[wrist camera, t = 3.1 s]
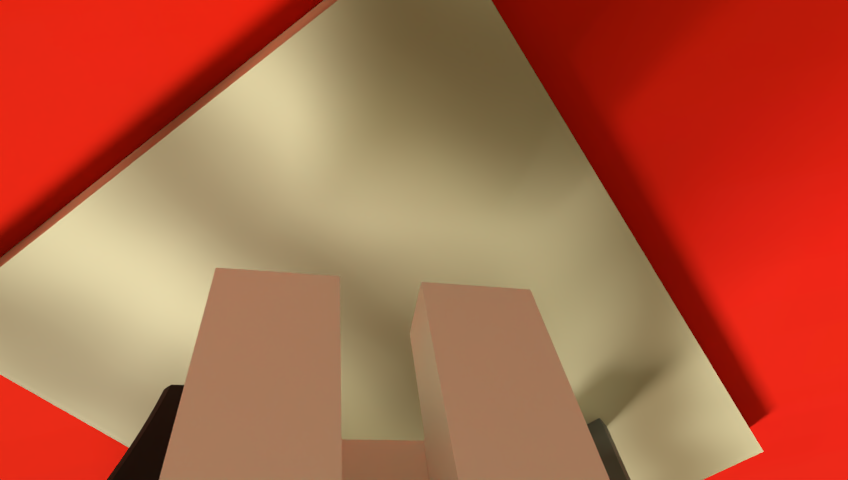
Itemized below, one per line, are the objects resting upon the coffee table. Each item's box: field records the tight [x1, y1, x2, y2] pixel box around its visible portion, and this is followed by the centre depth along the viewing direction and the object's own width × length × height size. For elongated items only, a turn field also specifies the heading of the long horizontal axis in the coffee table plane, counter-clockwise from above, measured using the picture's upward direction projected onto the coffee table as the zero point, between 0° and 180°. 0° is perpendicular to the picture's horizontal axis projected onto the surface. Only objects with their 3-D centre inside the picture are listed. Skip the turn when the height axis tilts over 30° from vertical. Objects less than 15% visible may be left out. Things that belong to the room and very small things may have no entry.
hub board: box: [0, 0, 763, 480], centre depth 18 cm, size 16×22×4 cm
